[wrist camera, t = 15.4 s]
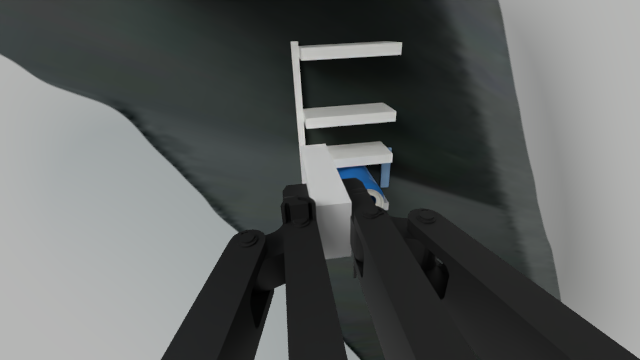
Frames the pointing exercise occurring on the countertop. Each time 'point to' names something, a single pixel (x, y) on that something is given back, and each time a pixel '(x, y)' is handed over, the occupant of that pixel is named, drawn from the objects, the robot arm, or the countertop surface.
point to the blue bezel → (385, 174)
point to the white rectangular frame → (348, 113)
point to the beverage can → (364, 181)
